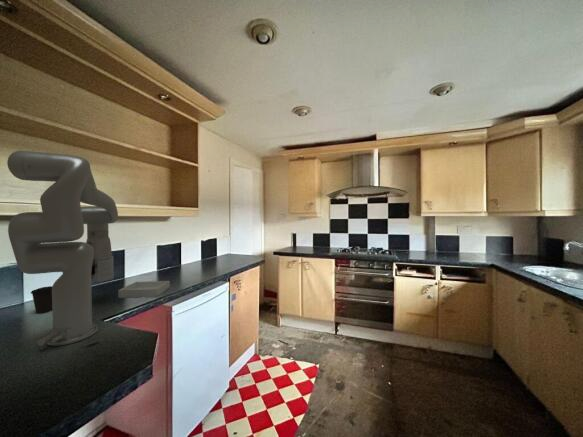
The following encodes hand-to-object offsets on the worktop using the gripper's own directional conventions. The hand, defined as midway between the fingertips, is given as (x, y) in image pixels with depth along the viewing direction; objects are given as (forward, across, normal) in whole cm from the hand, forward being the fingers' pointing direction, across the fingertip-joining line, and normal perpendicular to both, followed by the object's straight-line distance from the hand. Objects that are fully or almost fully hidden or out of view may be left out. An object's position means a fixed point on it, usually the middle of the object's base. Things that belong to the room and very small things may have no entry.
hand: (98, 272), depth 105 cm
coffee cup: (+15, -7, +16) cm, 23 cm away
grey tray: (+14, +13, -14) cm, 24 cm away
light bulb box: (+4, 0, 0) cm, 4 cm away
